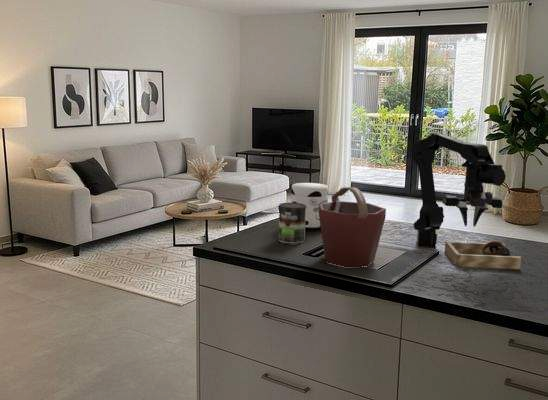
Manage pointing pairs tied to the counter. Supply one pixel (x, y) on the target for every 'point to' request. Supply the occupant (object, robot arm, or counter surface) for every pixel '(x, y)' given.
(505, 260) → the wooden frame
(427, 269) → the counter surface
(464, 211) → the robot arm
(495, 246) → the pottery mug
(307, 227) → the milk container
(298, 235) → the coffee can
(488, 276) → the counter surface
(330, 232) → the bucket
